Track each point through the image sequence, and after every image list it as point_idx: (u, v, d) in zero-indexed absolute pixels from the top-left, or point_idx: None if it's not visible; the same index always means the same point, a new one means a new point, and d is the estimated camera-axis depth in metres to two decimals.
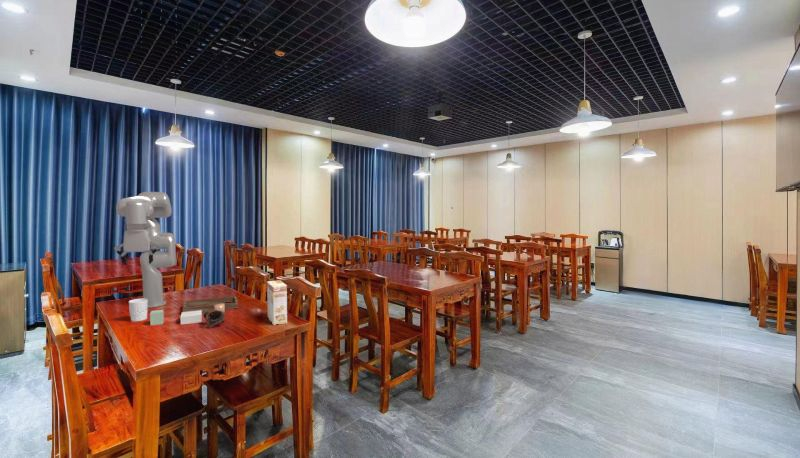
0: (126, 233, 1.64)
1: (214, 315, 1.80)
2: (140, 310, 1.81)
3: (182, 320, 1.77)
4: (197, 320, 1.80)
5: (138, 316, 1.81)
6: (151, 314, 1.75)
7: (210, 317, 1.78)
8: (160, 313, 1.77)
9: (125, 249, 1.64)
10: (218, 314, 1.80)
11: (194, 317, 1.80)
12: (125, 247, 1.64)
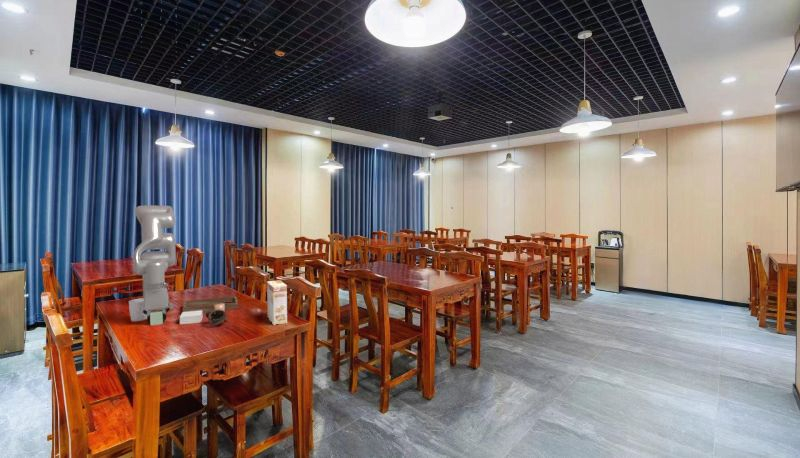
0: (146, 292, 1.74)
1: (216, 314, 1.81)
2: None
3: (181, 320, 1.78)
4: (196, 320, 1.80)
5: (138, 316, 1.81)
6: (151, 314, 1.75)
7: (212, 316, 1.79)
8: (160, 313, 1.77)
9: (145, 307, 1.74)
10: (220, 313, 1.81)
11: (194, 317, 1.80)
12: (145, 305, 1.74)
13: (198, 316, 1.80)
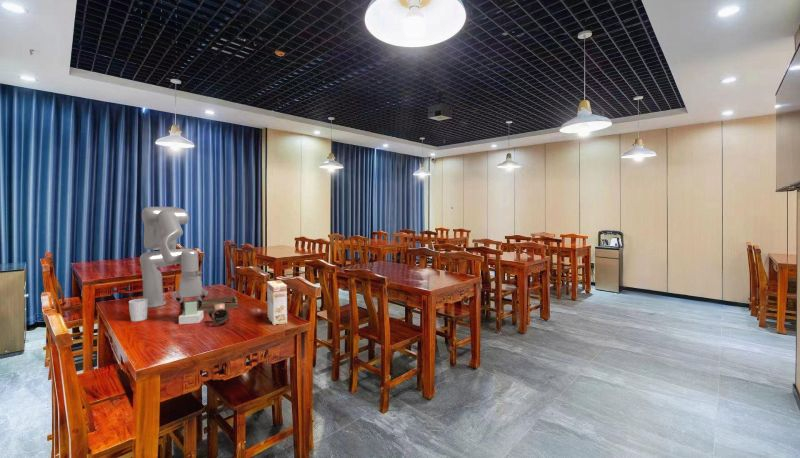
0: (181, 280, 1.78)
1: (219, 314, 1.82)
2: (140, 310, 1.81)
3: (180, 320, 1.78)
4: (195, 321, 1.80)
5: (138, 316, 1.81)
6: (186, 304, 1.79)
7: (215, 316, 1.81)
8: (194, 304, 1.81)
9: (180, 295, 1.79)
10: (223, 313, 1.82)
11: (192, 318, 1.79)
12: (180, 293, 1.78)
13: (197, 316, 1.80)
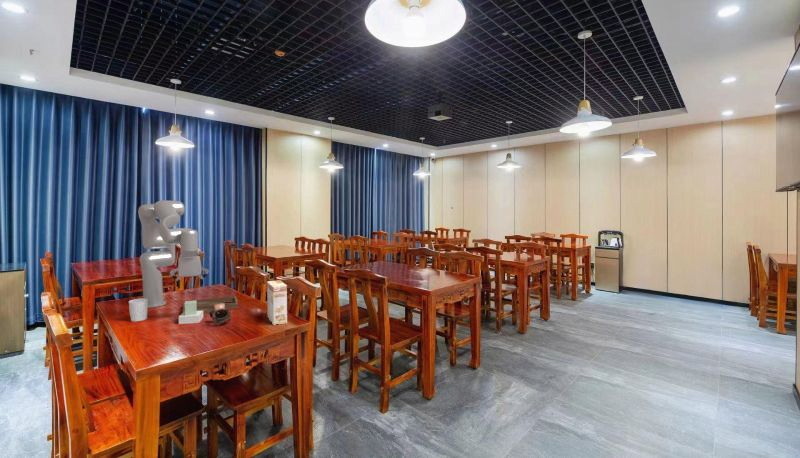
0: (181, 259, 1.78)
1: (220, 314, 1.82)
2: (140, 310, 1.81)
3: (180, 320, 1.78)
4: (195, 321, 1.80)
5: (138, 316, 1.81)
6: (186, 304, 1.79)
7: (216, 316, 1.81)
8: (194, 303, 1.81)
9: (179, 274, 1.78)
10: (224, 312, 1.83)
11: (192, 318, 1.79)
12: (180, 272, 1.78)
13: (197, 316, 1.80)
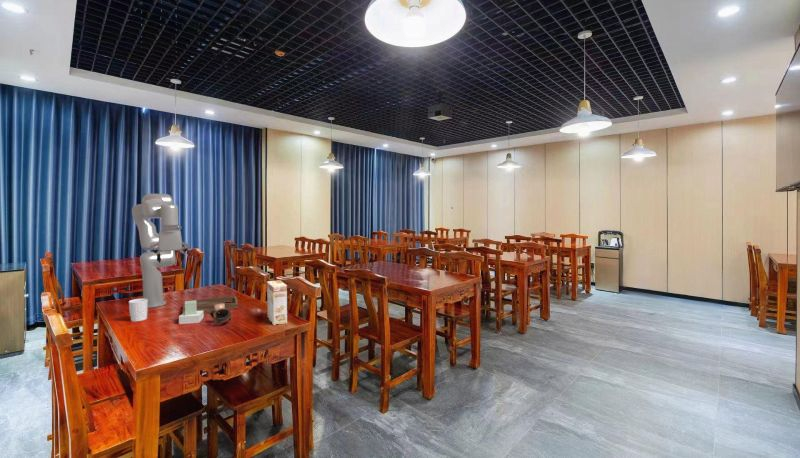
0: (161, 233, 1.80)
1: (220, 313, 1.83)
2: (140, 310, 1.81)
3: (180, 320, 1.78)
4: (195, 321, 1.80)
5: (138, 316, 1.81)
6: (186, 304, 1.80)
7: (217, 315, 1.81)
8: (194, 303, 1.82)
9: (160, 248, 1.80)
10: (224, 312, 1.83)
11: (192, 318, 1.79)
12: (160, 246, 1.80)
13: (197, 316, 1.80)
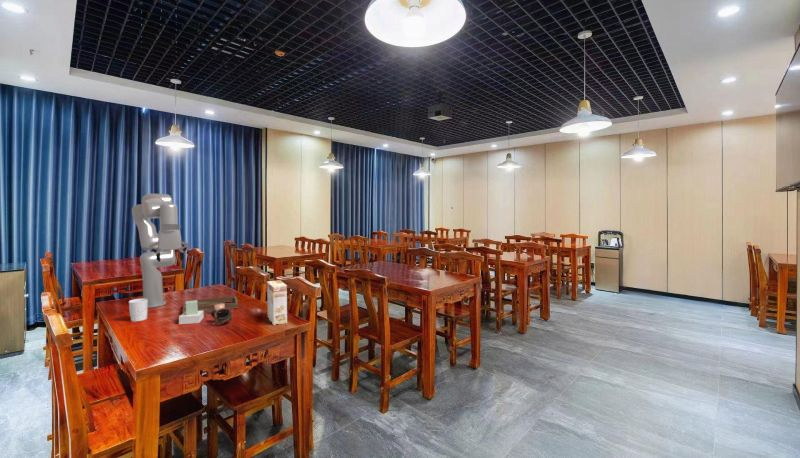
0: (160, 232, 1.80)
1: (221, 313, 1.83)
2: (140, 310, 1.81)
3: (180, 320, 1.78)
4: (195, 321, 1.80)
5: (138, 316, 1.81)
6: (187, 304, 1.80)
7: (217, 315, 1.82)
8: (195, 303, 1.82)
9: (159, 247, 1.80)
10: (225, 312, 1.83)
11: (192, 318, 1.79)
12: (159, 245, 1.80)
13: (197, 316, 1.80)
